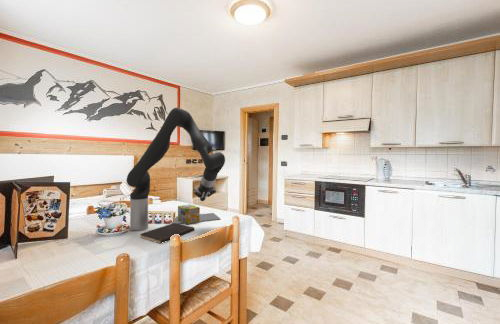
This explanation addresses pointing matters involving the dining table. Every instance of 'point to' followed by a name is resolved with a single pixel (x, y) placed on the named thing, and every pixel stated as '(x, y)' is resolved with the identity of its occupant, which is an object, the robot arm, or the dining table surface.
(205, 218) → the charcoal mat
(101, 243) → the dining table surface
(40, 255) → the dining table surface
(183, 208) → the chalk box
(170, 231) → the hardcover book
